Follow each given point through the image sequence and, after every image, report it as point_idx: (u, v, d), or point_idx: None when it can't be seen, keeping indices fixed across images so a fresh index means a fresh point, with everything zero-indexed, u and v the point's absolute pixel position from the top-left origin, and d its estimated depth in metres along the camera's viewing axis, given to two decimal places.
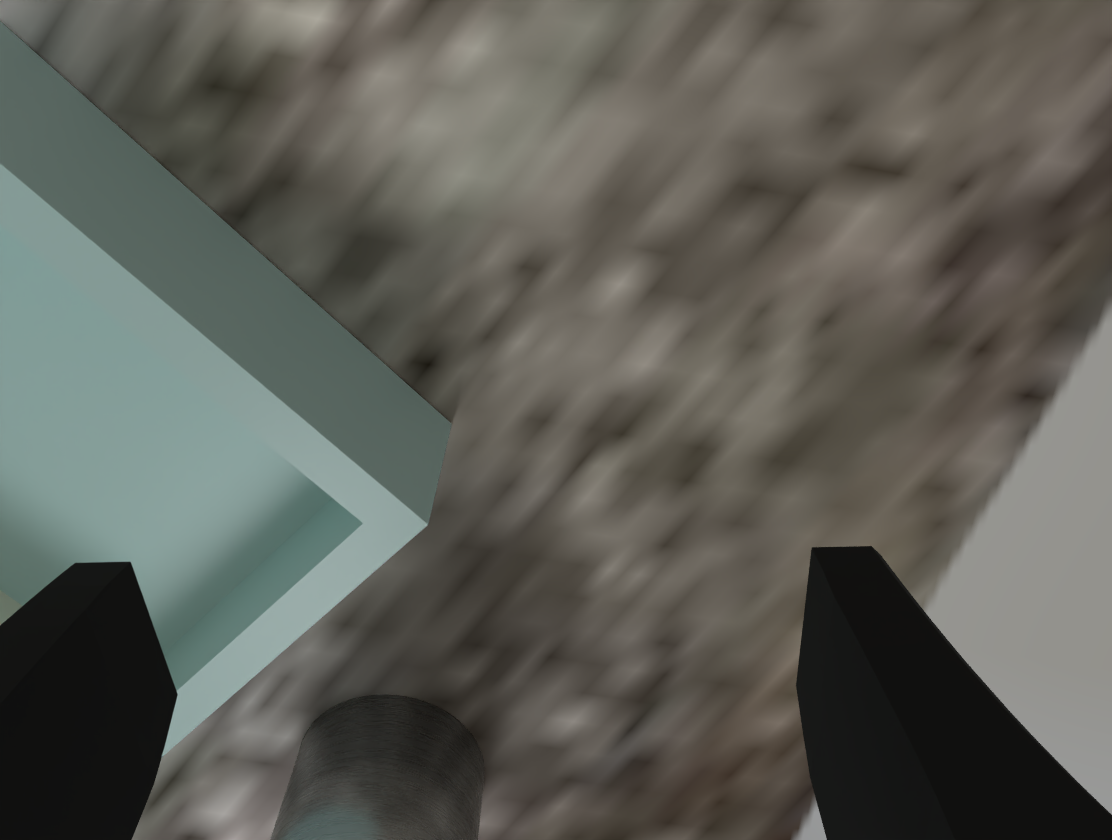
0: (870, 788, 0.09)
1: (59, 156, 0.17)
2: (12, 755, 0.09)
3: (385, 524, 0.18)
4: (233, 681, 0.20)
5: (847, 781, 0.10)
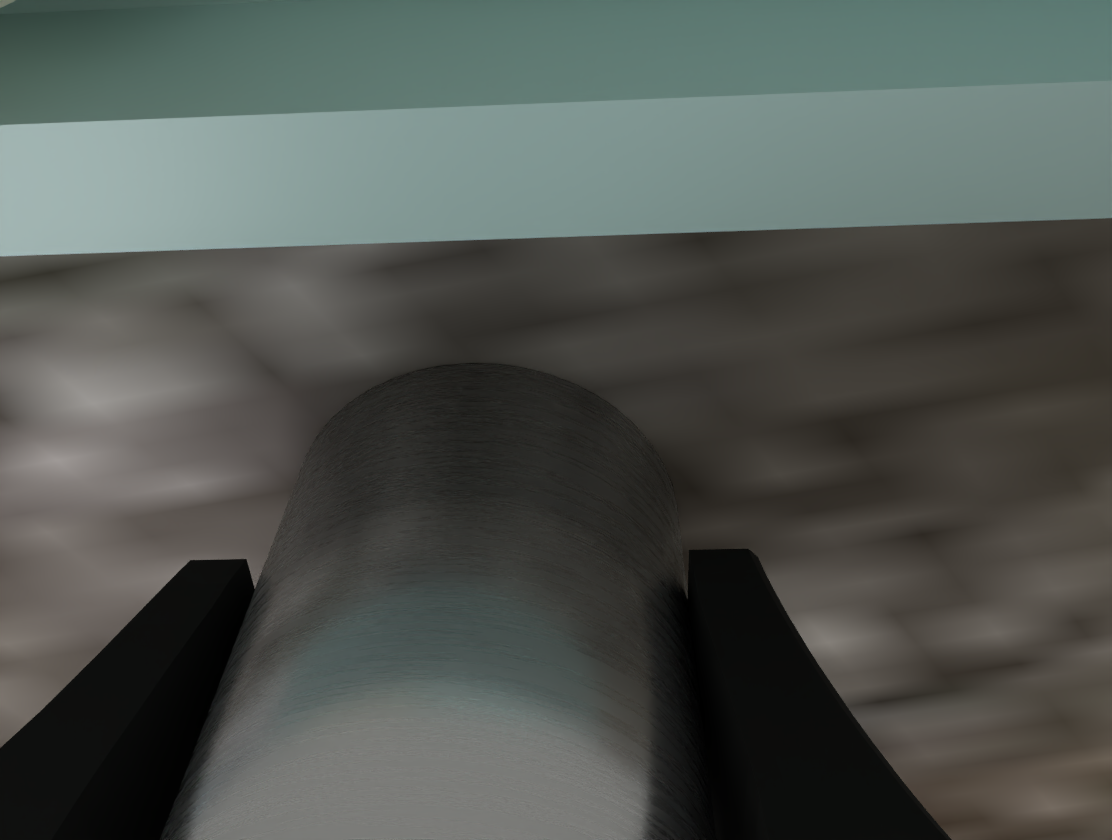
0: (724, 790, 0.09)
1: None
2: (154, 753, 0.09)
3: None
4: (831, 196, 0.06)
5: (712, 783, 0.10)
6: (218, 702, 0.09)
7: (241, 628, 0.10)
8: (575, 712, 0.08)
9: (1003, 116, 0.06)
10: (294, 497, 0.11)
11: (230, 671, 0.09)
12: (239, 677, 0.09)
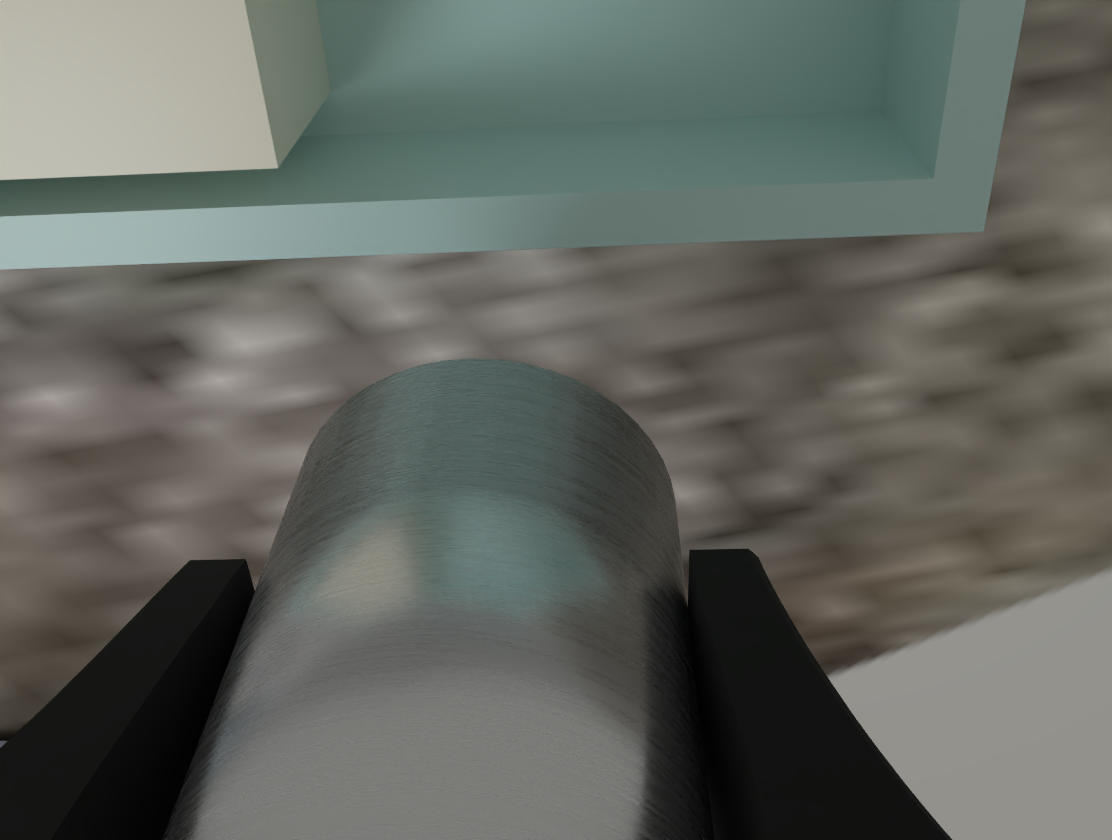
0: (725, 790, 0.09)
1: None
2: (153, 753, 0.09)
3: (950, 197, 0.14)
4: (608, 233, 0.15)
5: (712, 783, 0.10)
6: (224, 691, 0.09)
7: (246, 619, 0.10)
8: (575, 703, 0.08)
9: (673, 201, 0.14)
10: (297, 490, 0.11)
11: (236, 661, 0.09)
12: (245, 667, 0.09)
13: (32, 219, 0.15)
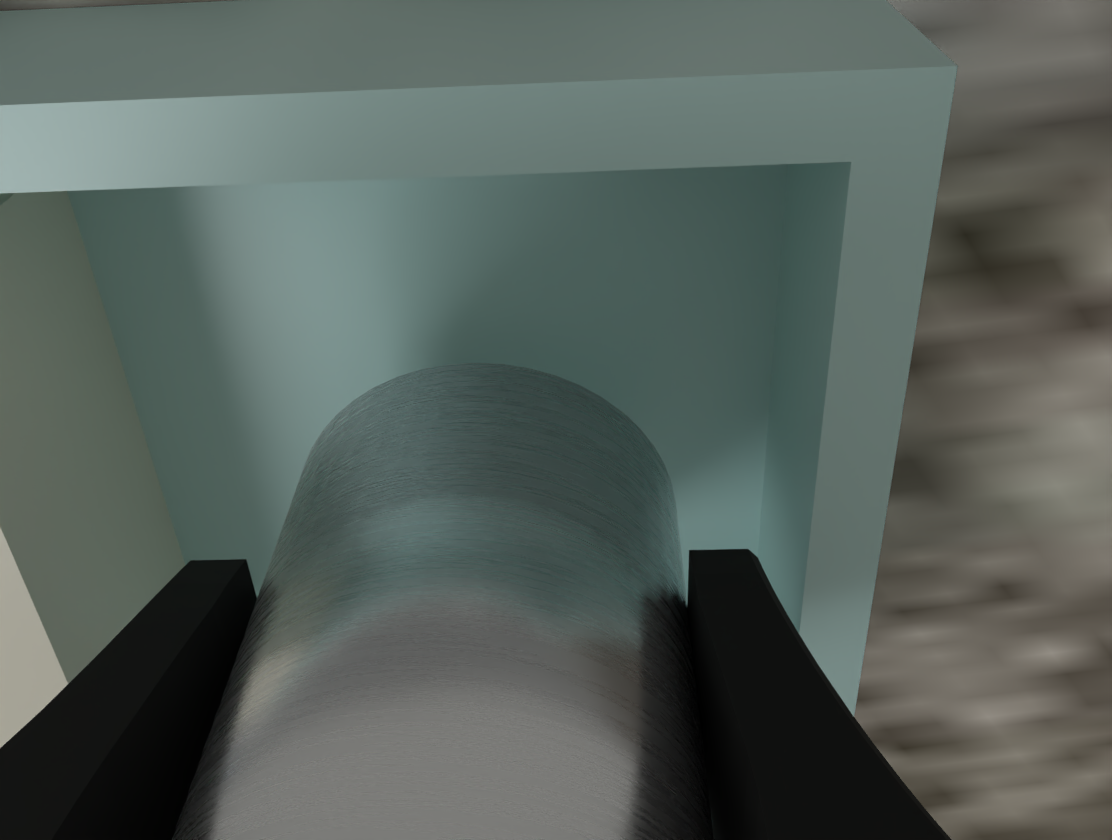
0: (724, 790, 0.09)
1: None
2: (154, 753, 0.09)
3: None
4: None
5: (712, 783, 0.10)
6: (230, 699, 0.09)
7: (250, 624, 0.10)
8: (581, 717, 0.08)
9: None
10: (301, 492, 0.11)
11: (241, 668, 0.09)
12: (251, 675, 0.09)
13: None
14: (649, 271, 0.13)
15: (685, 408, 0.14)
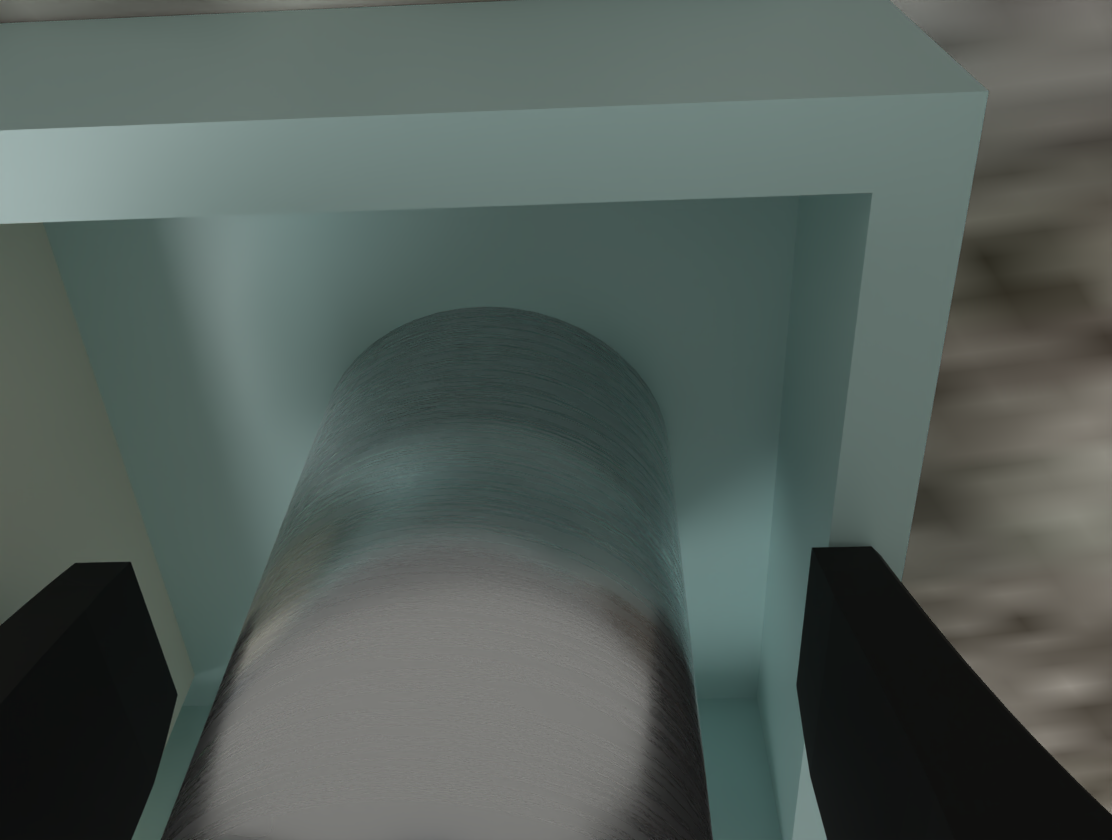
0: (870, 788, 0.09)
1: None
2: (12, 755, 0.09)
3: None
4: None
5: (847, 781, 0.10)
6: (266, 583, 0.10)
7: (282, 528, 0.11)
8: (579, 585, 0.09)
9: None
10: (326, 421, 0.12)
11: (275, 559, 0.10)
12: (285, 560, 0.10)
13: None
14: (653, 298, 0.13)
15: (690, 439, 0.14)
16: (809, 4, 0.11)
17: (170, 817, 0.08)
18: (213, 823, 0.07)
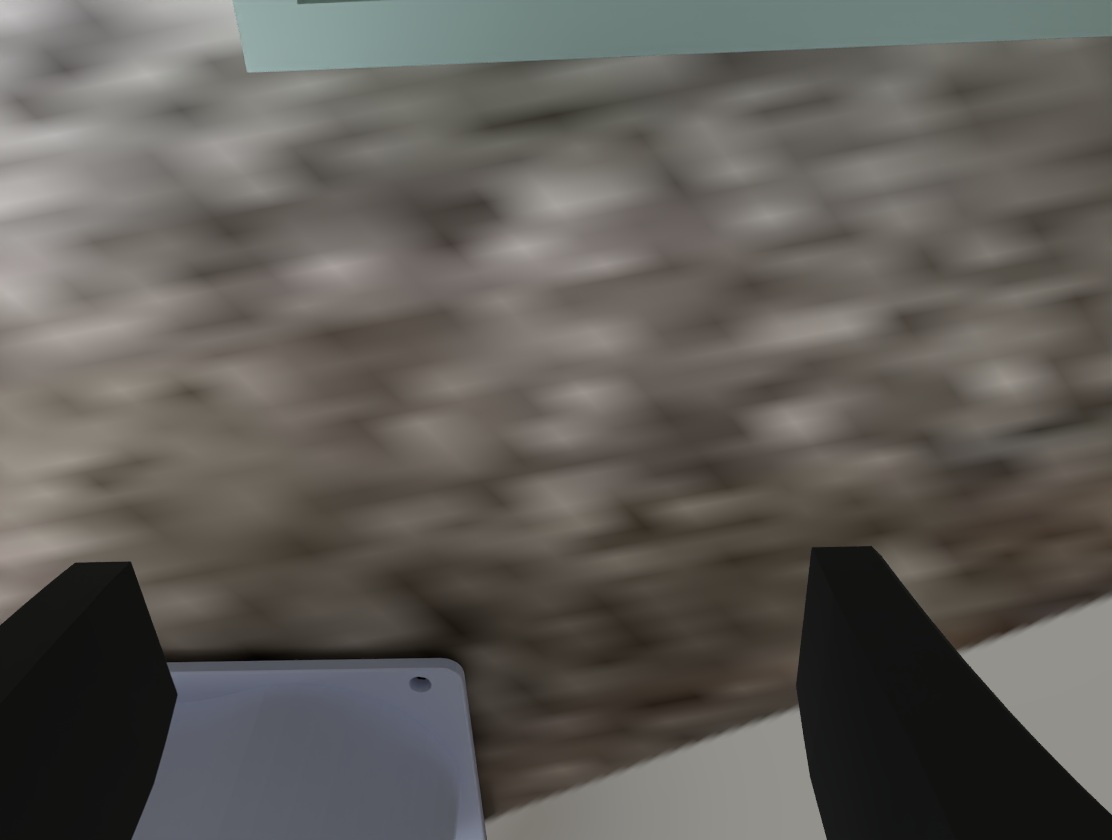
0: (870, 788, 0.09)
1: None
2: (12, 755, 0.09)
3: None
4: None
5: (847, 781, 0.10)
6: None
7: None
8: None
9: None
10: None
11: None
12: None
13: (454, 2, 0.13)
14: None
15: None
16: None
17: None
18: None
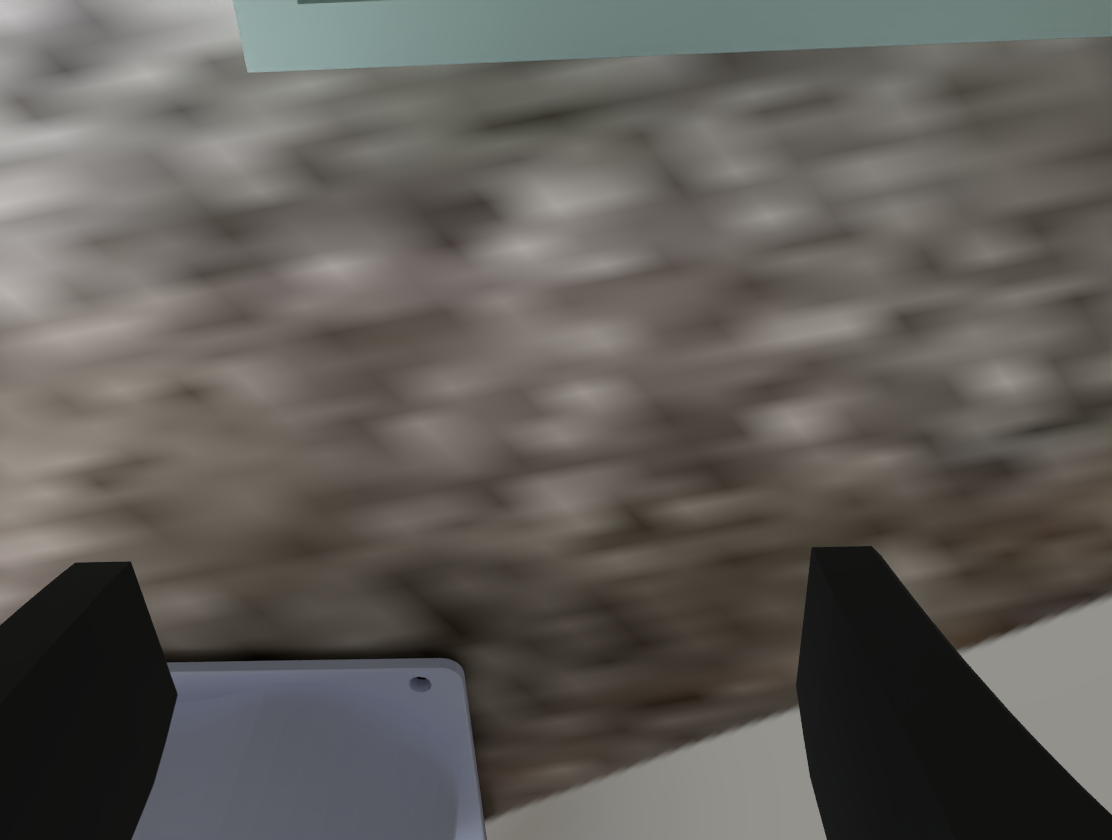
0: (870, 788, 0.09)
1: None
2: (12, 755, 0.09)
3: None
4: None
5: (847, 781, 0.10)
6: None
7: None
8: None
9: None
10: None
11: None
12: None
13: (454, 2, 0.13)
14: None
15: None
16: None
17: None
18: None
